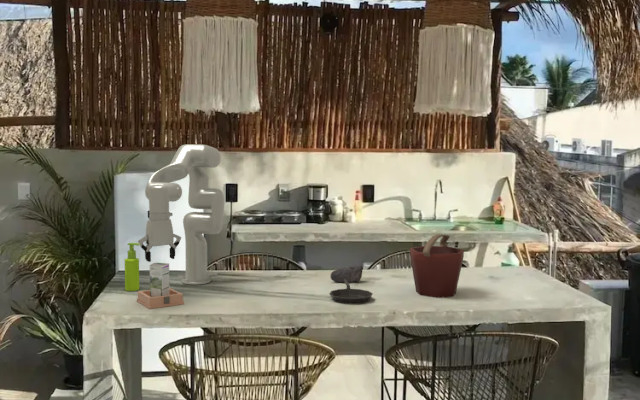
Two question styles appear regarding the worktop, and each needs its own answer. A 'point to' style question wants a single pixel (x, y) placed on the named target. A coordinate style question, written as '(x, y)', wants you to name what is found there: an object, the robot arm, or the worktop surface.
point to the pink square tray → (160, 299)
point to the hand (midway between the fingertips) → (160, 259)
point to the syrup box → (159, 279)
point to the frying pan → (350, 295)
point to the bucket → (436, 268)
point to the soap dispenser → (132, 269)
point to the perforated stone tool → (347, 274)
